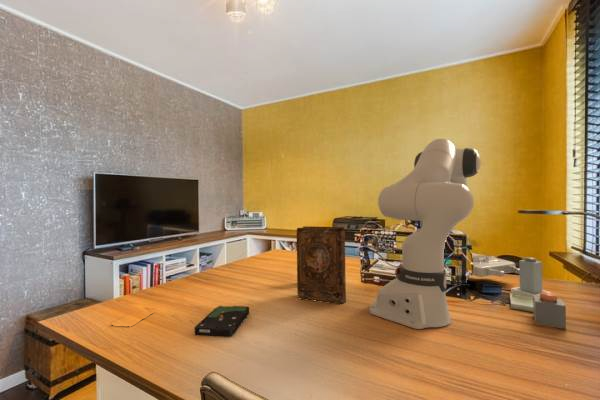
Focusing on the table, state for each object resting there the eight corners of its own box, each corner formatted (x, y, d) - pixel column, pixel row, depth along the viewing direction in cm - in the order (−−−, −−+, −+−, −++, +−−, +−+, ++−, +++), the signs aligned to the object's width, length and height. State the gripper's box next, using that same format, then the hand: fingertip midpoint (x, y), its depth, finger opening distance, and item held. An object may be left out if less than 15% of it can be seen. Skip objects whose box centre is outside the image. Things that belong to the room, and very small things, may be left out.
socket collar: (510, 293, 98) (510, 288, 98) (526, 290, 100) (525, 285, 100) (536, 301, 90) (536, 295, 90) (552, 297, 93) (552, 292, 93)
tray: (511, 308, 85) (511, 303, 85) (510, 298, 93) (509, 293, 93) (554, 315, 79) (554, 310, 79) (549, 304, 87) (549, 299, 87)
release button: (540, 315, 75) (540, 295, 75) (539, 311, 78) (538, 291, 78) (558, 319, 73) (558, 297, 73) (556, 314, 76) (556, 293, 76)
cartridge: (519, 294, 97) (519, 257, 97) (528, 292, 98) (527, 256, 98) (534, 298, 93) (533, 260, 93) (542, 296, 94) (542, 258, 94)
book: (347, 299, 95) (346, 227, 95) (343, 305, 90) (342, 228, 90) (303, 293, 101) (302, 226, 101) (297, 299, 96) (296, 227, 96)
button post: (535, 323, 75) (535, 301, 75) (533, 315, 80) (533, 294, 80) (566, 329, 71) (565, 305, 71) (561, 320, 76) (561, 298, 76)
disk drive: (232, 339, 70) (249, 314, 85) (232, 329, 70) (249, 305, 85) (194, 338, 72) (217, 313, 86) (193, 327, 72) (217, 304, 86)
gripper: (457, 259, 111) (491, 267, 98) (493, 255, 118) (529, 261, 104) (457, 274, 111) (491, 284, 98) (493, 269, 118) (530, 278, 104)
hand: (511, 272), depth 101 cm, fingers open, 8 cm apart
